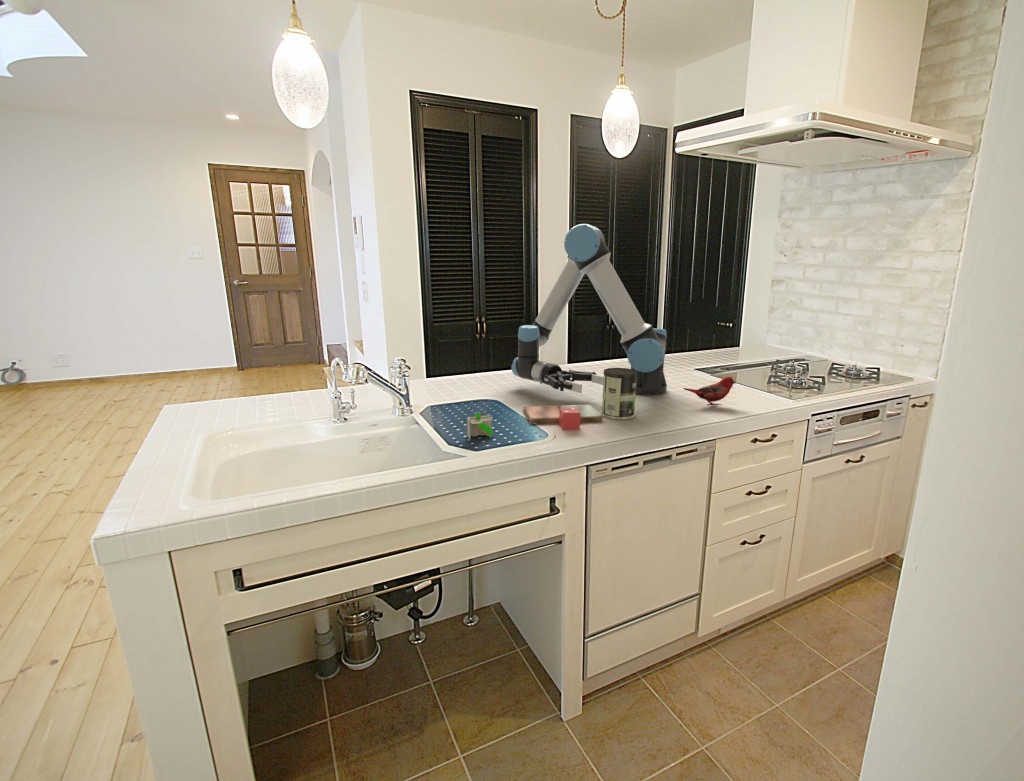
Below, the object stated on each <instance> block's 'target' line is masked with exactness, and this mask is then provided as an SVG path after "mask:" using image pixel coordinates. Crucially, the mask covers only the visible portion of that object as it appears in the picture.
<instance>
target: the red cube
mask: <svg viewBox="0 0 1024 781" xmlns="http://www.w3.org/2000/svg"><path fill="white" fill-rule="evenodd" d="M558 425H559V426H560V428H561V430H562V431H564V430H566V431H568V430H580V428H581V423H580V411H579V410H578V409H577V408H560V410H559V423H558Z"/></svg>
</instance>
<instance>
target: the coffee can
mask: <svg viewBox="0 0 1024 781" xmlns="http://www.w3.org/2000/svg"><path fill="white" fill-rule="evenodd" d="M637 374H638V372H637V371H636V370H633V369H631V368H628V367H627V368H626V367H608V368H605V369H603V377H604V381H603V385H602V386H603V387H602V401H601V402H602V404H601V405H602V406H601V416H602V417H605V418H608V419H613V420H630V419H632V418H634V417H635V410H636V409H635V408H636V382H637Z"/></svg>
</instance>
